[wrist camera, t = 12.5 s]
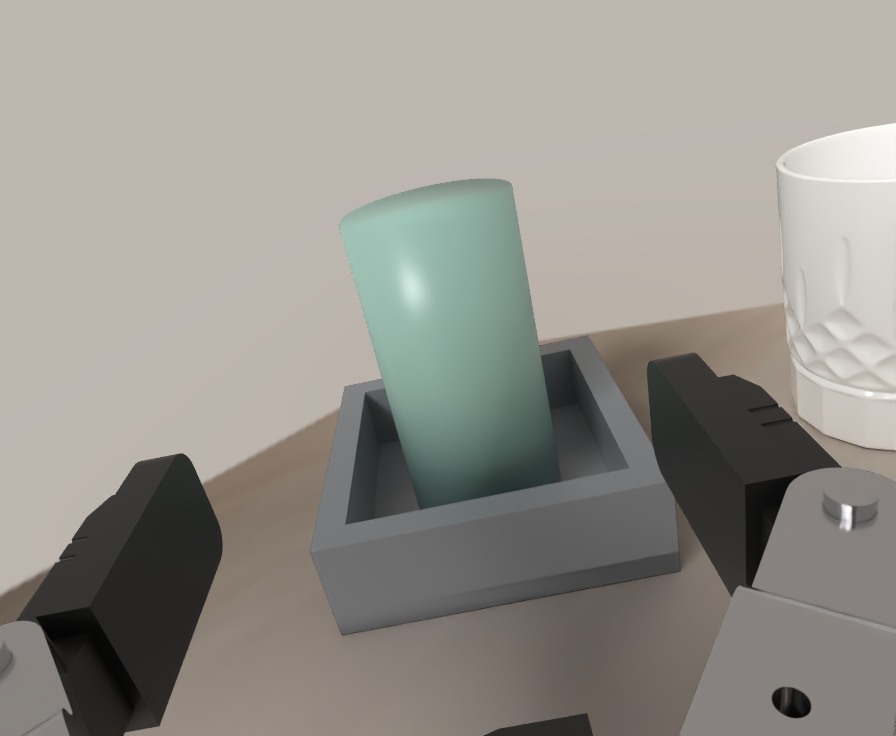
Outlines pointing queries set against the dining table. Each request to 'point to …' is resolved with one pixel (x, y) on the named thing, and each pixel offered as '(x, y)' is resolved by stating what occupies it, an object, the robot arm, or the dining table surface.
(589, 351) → the dish
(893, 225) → the white cup
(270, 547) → the dining table surface
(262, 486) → the dining table surface
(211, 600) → the dining table surface
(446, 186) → the mint green cylinder
